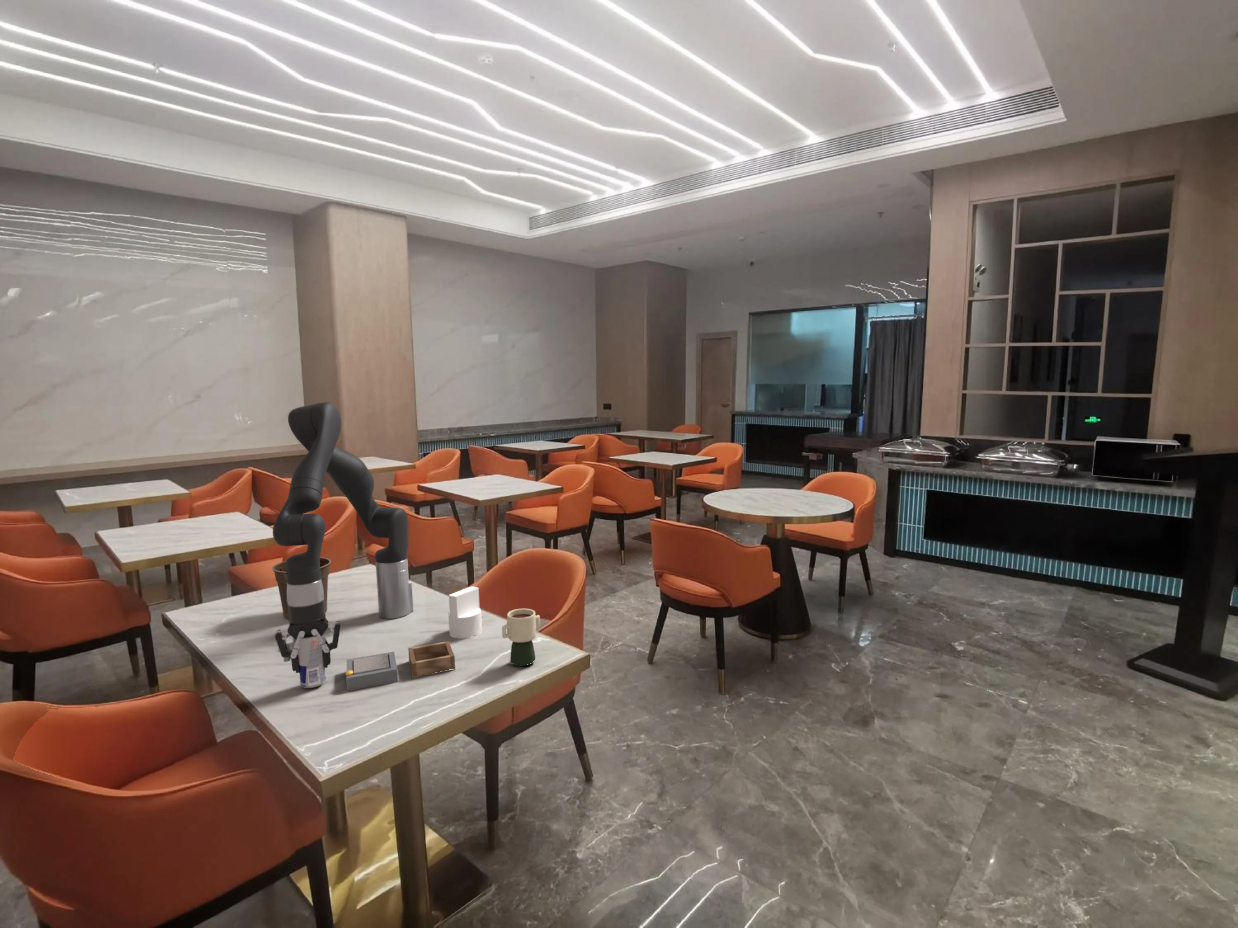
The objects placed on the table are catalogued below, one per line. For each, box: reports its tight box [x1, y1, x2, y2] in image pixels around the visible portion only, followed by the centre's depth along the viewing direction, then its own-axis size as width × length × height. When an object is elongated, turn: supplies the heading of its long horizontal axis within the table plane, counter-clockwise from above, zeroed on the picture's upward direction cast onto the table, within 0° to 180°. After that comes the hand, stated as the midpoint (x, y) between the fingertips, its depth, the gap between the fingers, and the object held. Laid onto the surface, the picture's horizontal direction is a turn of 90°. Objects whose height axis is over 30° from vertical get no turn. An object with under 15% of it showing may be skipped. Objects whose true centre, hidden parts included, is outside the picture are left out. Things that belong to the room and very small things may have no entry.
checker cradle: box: [345, 651, 399, 692], centre depth 149 cm, size 11×11×4 cm
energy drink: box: [297, 636, 327, 689], centre depth 144 cm, size 5×5×12 cm
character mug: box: [501, 608, 541, 667], centre depth 154 cm, size 11×7×13 cm, turn 131°
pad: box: [353, 654, 390, 675], centre depth 149 cm, size 8×8×2 cm
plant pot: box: [271, 556, 332, 621], centre depth 191 cm, size 16×16×16 cm
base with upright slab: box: [448, 586, 483, 639], centre depth 175 cm, size 9×9×12 cm
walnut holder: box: [407, 641, 456, 678], centre depth 154 cm, size 10×10×4 cm
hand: (312, 668), depth 144 cm, fingers closed on energy drink, 5 cm apart
